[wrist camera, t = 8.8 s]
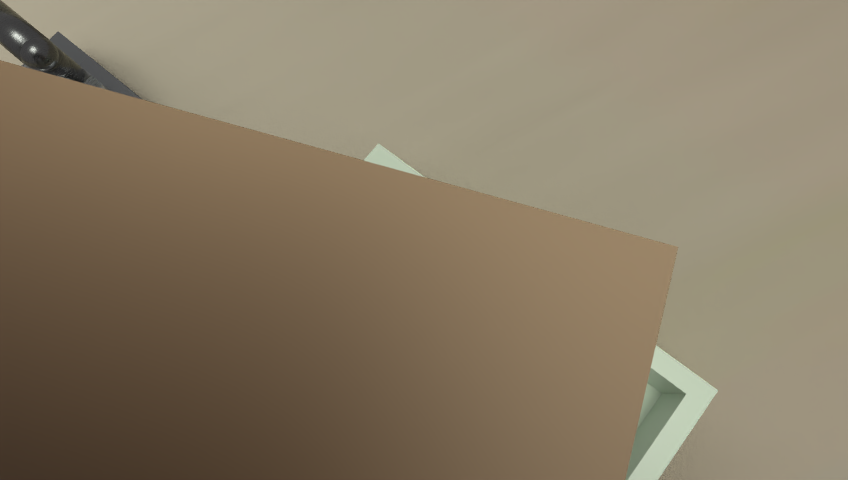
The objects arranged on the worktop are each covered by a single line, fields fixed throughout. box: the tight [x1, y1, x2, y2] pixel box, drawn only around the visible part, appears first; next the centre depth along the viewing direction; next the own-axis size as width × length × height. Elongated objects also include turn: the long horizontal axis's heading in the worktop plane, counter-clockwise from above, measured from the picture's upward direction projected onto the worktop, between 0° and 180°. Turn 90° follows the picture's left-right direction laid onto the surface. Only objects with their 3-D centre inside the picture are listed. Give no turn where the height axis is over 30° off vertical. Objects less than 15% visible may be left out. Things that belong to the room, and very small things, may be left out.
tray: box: [364, 143, 718, 480], centre depth 17 cm, size 12×12×3 cm
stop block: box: [0, 61, 678, 480], centre depth 9 cm, size 5×5×13 cm
